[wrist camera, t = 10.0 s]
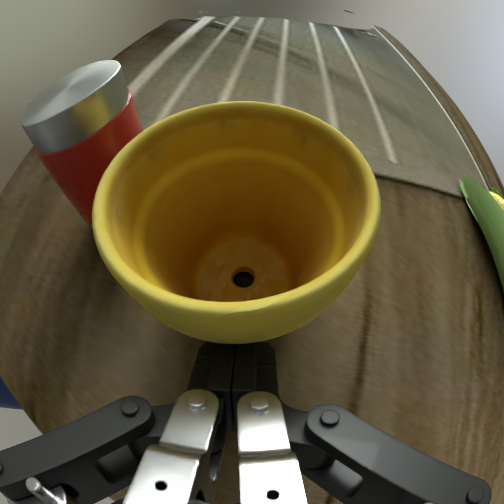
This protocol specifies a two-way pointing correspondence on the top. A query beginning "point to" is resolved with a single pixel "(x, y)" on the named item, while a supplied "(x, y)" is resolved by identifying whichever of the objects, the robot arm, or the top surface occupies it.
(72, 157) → the tin can
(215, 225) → the flower pot
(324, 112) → the top surface
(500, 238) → the edible corn
